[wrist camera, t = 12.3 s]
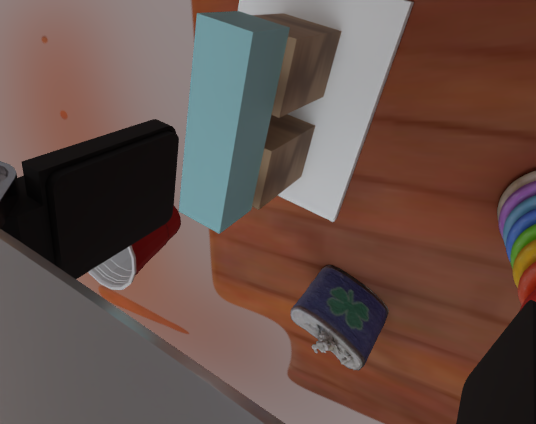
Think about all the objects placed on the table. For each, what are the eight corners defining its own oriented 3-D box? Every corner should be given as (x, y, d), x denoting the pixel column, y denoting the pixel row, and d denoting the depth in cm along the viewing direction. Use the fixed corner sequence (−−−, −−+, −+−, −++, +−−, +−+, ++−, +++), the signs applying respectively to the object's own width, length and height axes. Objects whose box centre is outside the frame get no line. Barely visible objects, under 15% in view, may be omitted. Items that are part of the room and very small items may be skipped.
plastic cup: (200, 200, 55) (133, 241, 46) (190, 258, 61) (130, 305, 52) (140, 166, 58) (67, 198, 49) (137, 225, 65) (71, 263, 55)
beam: (239, 11, 31) (197, 13, 27) (289, 27, 29) (253, 32, 25) (213, 190, 39) (178, 211, 36) (251, 209, 38) (219, 233, 34)
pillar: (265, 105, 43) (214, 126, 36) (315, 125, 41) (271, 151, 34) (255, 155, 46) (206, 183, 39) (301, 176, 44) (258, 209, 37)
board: (251, -41, 39) (245, -42, 38) (414, 2, 33) (411, 2, 33) (220, 163, 51) (215, 165, 50) (336, 218, 45) (333, 222, 45)
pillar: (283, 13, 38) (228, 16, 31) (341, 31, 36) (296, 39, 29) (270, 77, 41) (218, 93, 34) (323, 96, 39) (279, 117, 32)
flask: (318, 272, 50) (277, 327, 42) (330, 258, 48) (289, 311, 40) (381, 322, 48) (350, 388, 40) (395, 308, 47) (366, 375, 38)
